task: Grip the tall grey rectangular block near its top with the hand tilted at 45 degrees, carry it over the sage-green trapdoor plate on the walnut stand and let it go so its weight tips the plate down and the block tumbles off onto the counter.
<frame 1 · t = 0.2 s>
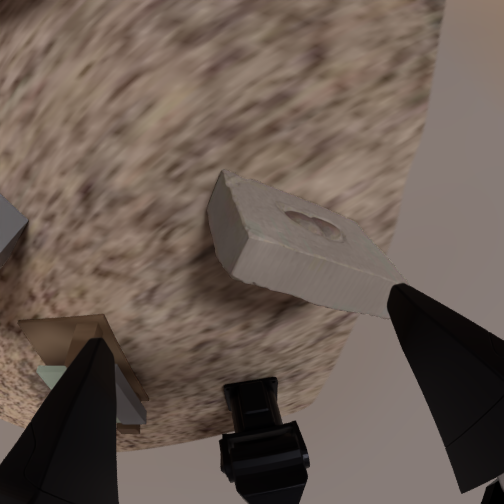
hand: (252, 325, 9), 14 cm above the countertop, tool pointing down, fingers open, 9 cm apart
grey rectangular block: (2, 225, 19), on the countertop
trapdoor: (94, 397, 25), point 5 cm above the countertop, hinge at 0.0°
grey plaster block: (285, 213, 24), on the countertop
trapdoor frame: (89, 365, 29), on the countertop
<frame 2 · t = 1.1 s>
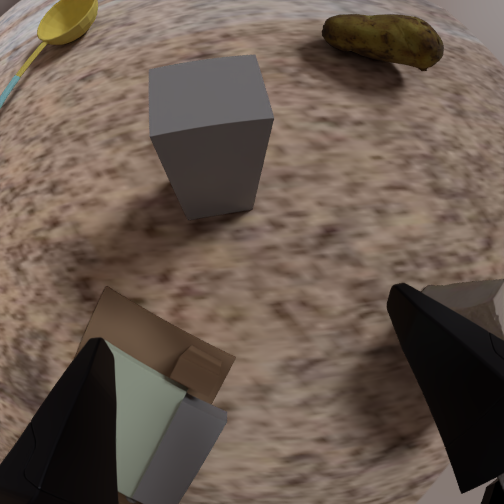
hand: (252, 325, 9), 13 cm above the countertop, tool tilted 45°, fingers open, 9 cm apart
grey rectangular block: (216, 190, 23), on the countertop
potato: (372, 58, 28), on the countertop
trapdoor: (134, 438, 15), point 5 cm above the countertop, hinge at 0.0°
grey plaster block: (442, 347, 22), on the countertop
ladle: (31, 83, 25), on the countertop
trapdoor frame: (134, 407, 20), on the countertop
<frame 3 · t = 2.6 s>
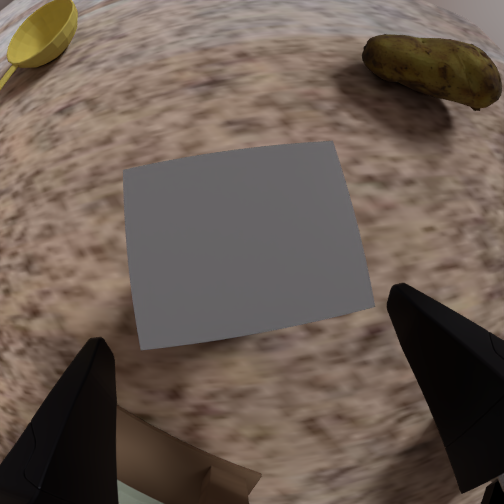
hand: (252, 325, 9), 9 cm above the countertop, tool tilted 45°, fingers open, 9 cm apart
grey rectangular block: (236, 285, 18), on the countertop
potato: (417, 90, 23), on the countertop
ladle: (1, 117, 20), on the countertop
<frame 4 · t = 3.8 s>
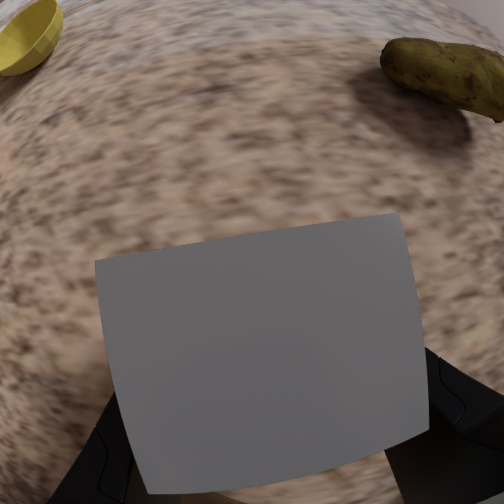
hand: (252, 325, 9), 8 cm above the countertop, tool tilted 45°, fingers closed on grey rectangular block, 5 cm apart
grey rectangular block: (244, 325, 16), on the countertop, touching gripper
potato: (436, 98, 21), on the countertop
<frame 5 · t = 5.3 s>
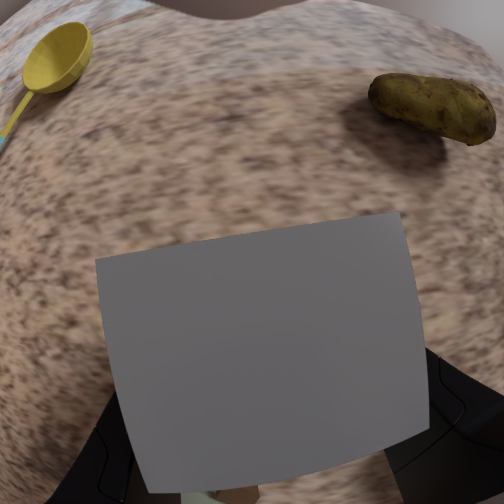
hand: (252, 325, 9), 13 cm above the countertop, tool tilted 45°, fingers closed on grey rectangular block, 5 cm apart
grey rectangular block: (244, 324, 16), point 6 cm above the countertop, touching gripper
potato: (417, 123, 26), on the countertop
ladle: (20, 140, 23), on the countertop
trapdoor frame: (169, 493, 18), on the countertop
when the fingers open (13 cm above the countertop, at t = 6.8 s): grey rectangular block drops 1 cm and tips over, resting on trapdoor.
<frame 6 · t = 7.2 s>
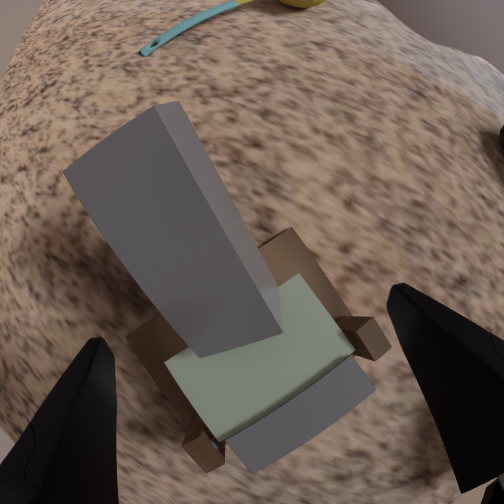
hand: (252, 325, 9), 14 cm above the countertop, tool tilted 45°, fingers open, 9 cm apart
grey rectangular block: (240, 321, 17), point 4 cm above the countertop, tilted 56°, touching trapdoor
trapdoor: (273, 378, 17), point 4 cm above the countertop, hinge at -9.5°, touching grey rectangular block
ladle: (240, 17, 29), on the countertop
trapdoor frame: (254, 350, 21), on the countertop
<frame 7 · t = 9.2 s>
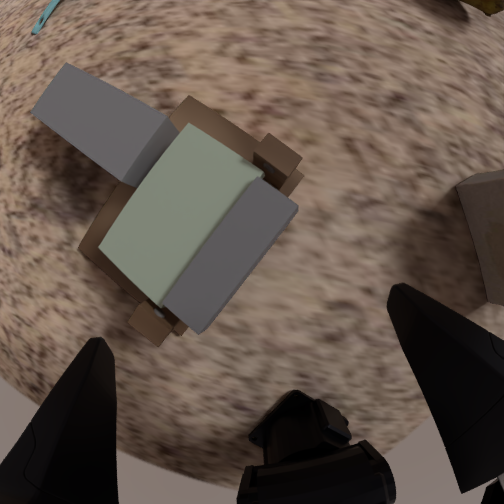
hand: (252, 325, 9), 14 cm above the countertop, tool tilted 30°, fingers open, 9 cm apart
grey rectangular block: (153, 156, 19), point 2 cm above the countertop, tilted 92°, touching trapdoor frame
trapdoor: (191, 225, 18), point 4 cm above the countertop, hinge at -10.0°
grey plaster block: (482, 239, 22), on the countertop
trapdoor frame: (187, 215, 22), on the countertop
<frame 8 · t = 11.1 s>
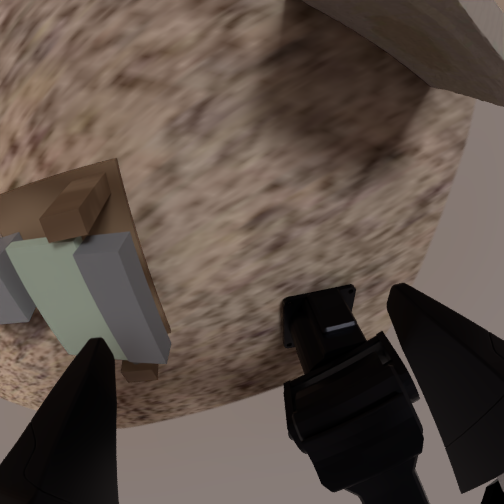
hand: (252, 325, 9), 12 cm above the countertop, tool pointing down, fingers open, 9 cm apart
grey rectangular block: (22, 276, 17), point 2 cm above the countertop, tilted 92°, touching trapdoor frame
trapdoor: (87, 306, 17), point 4 cm above the countertop, hinge at -10.0°
grey plaster block: (376, 23, 14), on the countertop
trapdoor frame: (84, 269, 20), on the countertop
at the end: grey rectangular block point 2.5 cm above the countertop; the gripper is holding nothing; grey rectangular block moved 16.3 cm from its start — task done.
